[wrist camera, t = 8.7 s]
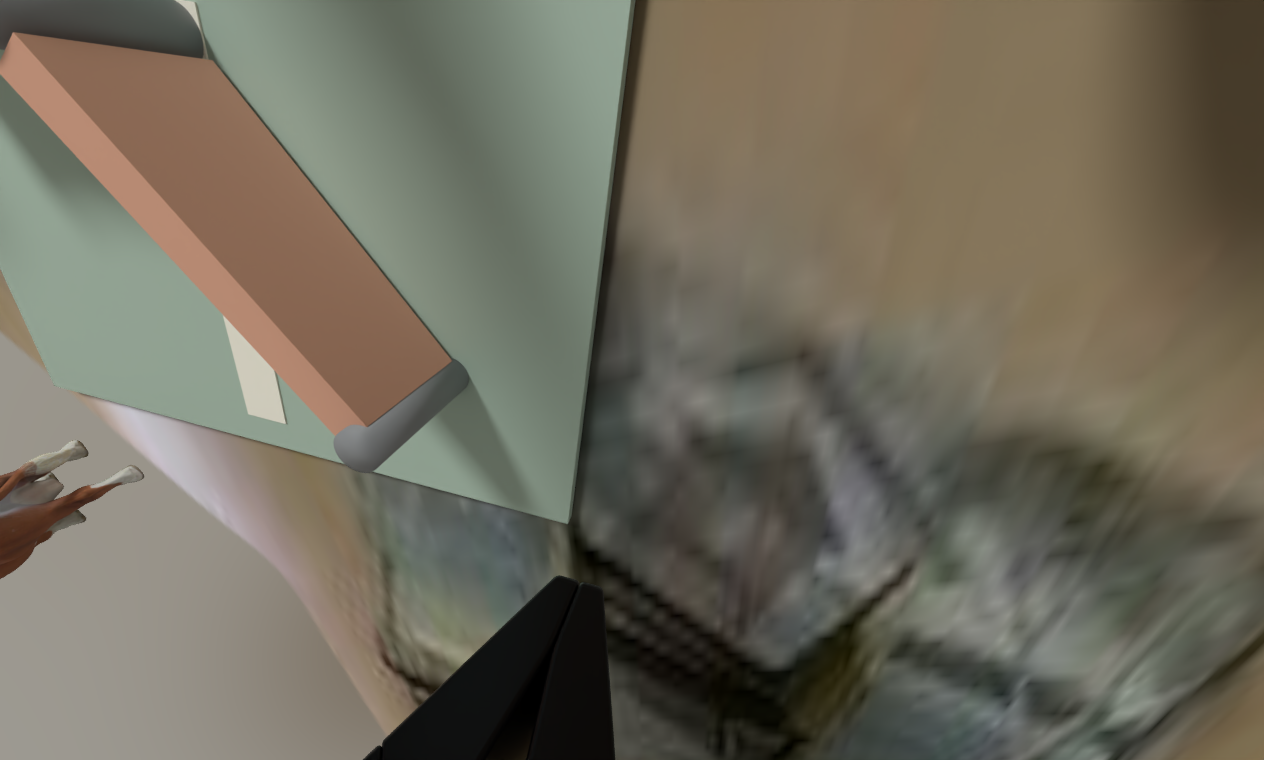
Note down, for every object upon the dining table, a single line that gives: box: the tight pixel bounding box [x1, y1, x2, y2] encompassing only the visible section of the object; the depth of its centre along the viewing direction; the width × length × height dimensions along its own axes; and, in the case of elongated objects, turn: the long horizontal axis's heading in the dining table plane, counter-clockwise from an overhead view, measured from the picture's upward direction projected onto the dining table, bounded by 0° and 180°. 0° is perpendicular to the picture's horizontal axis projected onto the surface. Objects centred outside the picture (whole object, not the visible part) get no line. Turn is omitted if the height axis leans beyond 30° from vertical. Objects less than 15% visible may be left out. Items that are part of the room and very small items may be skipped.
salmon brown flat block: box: [0, 32, 469, 473], centre depth 14 cm, size 1×12×5 cm, turn 32°
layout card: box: [0, 0, 635, 524], centre depth 16 cm, size 24×25×1 cm
